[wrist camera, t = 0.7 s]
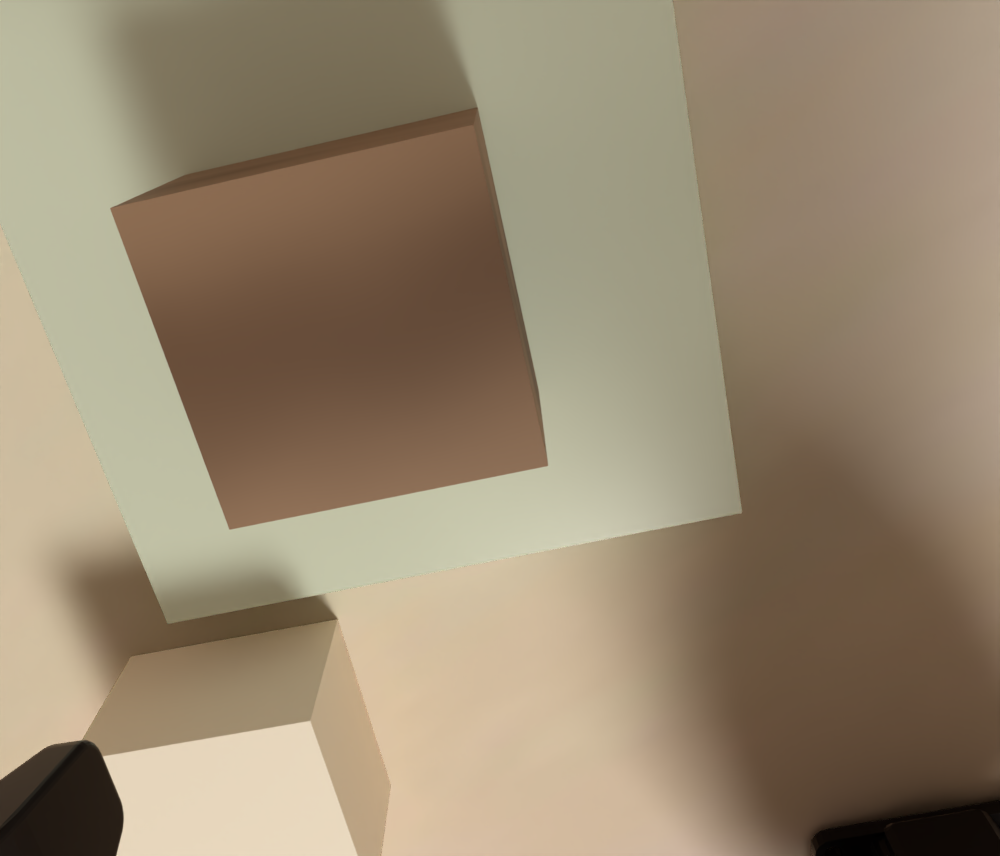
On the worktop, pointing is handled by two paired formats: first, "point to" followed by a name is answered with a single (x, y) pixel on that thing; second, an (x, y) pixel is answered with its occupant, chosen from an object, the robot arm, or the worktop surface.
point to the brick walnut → (341, 319)
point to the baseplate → (344, 113)
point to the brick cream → (245, 749)
